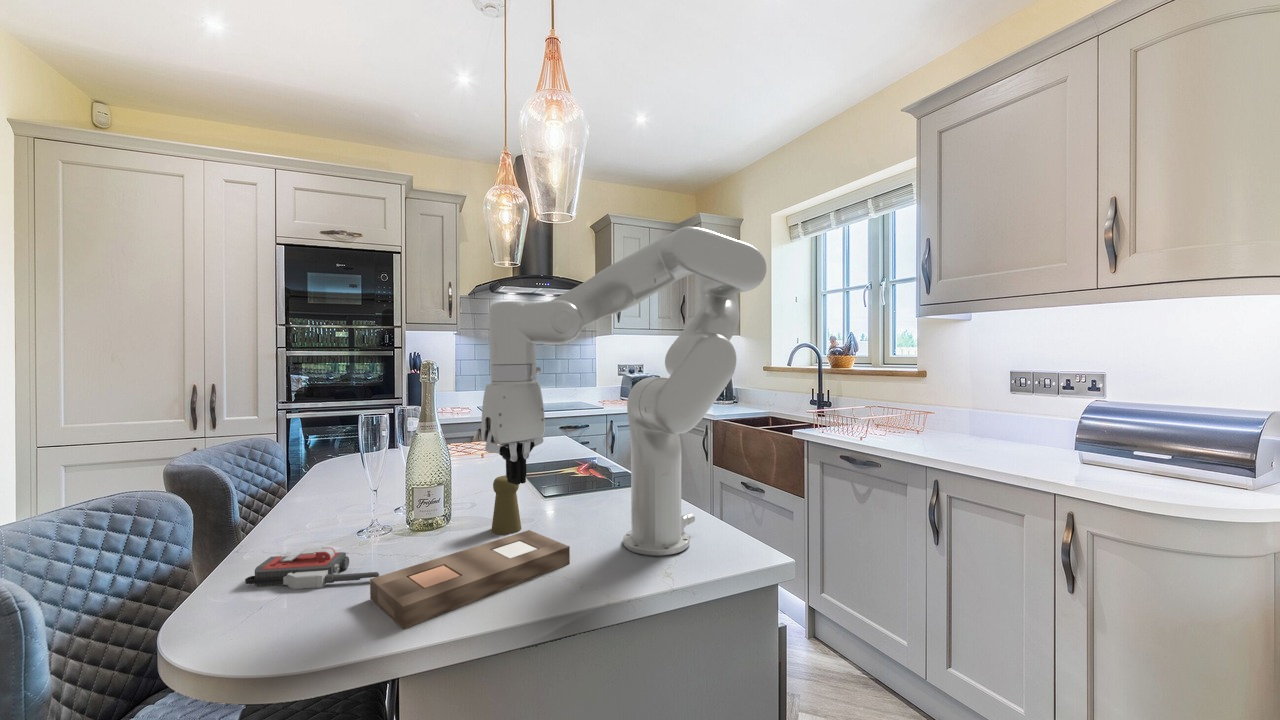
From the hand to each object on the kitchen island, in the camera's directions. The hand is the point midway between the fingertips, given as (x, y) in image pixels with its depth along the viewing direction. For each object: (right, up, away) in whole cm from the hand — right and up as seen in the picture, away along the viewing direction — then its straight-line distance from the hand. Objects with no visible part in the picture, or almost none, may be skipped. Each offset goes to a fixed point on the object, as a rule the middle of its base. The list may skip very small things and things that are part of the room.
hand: (516, 482), depth 86 cm
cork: (-7, -14, +18) cm, 24 cm away
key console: (-5, -15, -5) cm, 16 cm away
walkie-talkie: (-31, -15, -3) cm, 35 cm away
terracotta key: (-10, -14, -10) cm, 20 cm away
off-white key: (0, -14, 0) cm, 14 cm away
